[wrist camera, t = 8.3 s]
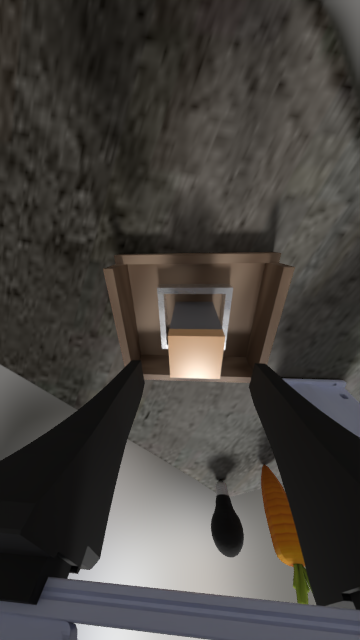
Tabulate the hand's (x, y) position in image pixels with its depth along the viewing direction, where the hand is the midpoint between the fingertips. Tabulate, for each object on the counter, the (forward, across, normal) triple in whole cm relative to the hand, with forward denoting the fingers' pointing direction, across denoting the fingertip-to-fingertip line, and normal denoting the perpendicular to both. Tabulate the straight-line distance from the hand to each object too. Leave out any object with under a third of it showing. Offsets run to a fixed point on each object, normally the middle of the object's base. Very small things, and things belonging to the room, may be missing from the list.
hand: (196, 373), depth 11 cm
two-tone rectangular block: (+9, 0, 0) cm, 9 cm away
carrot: (+10, -15, +33) cm, 38 cm away
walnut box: (+9, 0, 0) cm, 9 cm away
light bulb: (+10, -7, +41) cm, 43 cm away
